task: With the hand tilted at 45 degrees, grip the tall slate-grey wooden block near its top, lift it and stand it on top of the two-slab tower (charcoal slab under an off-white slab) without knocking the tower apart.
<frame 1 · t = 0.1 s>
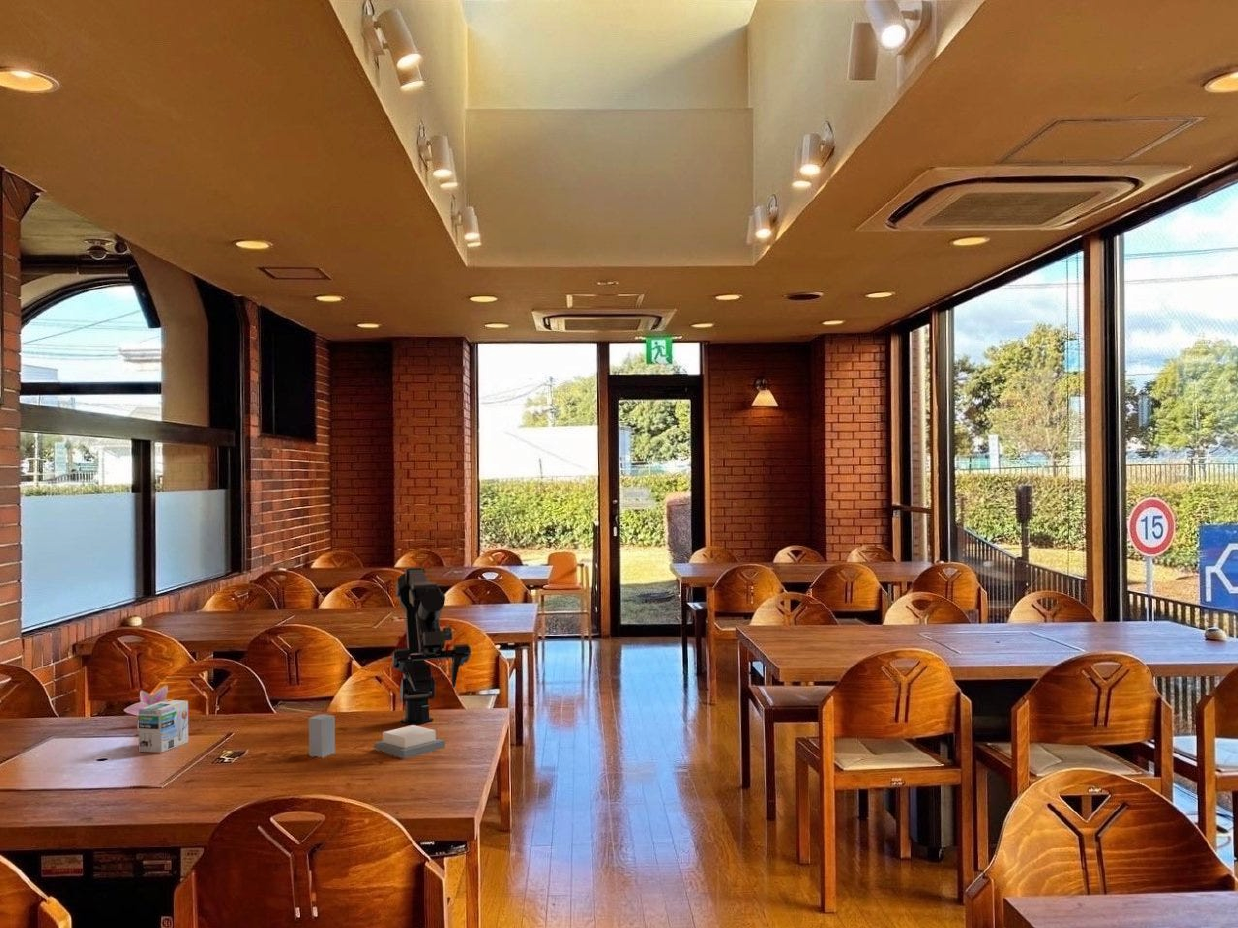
hand: (434, 688, 232), 15 cm above the table, tool tilted 35°, fingers open, 9 cm apart
slate block: (322, 754, 230), on the table
lily: (152, 725, 262), on the table
charcoal base slab: (409, 751, 233), on the table
off-white top slab: (409, 741, 233), point 2 cm above the table
light bulb box: (164, 748, 239), on the table
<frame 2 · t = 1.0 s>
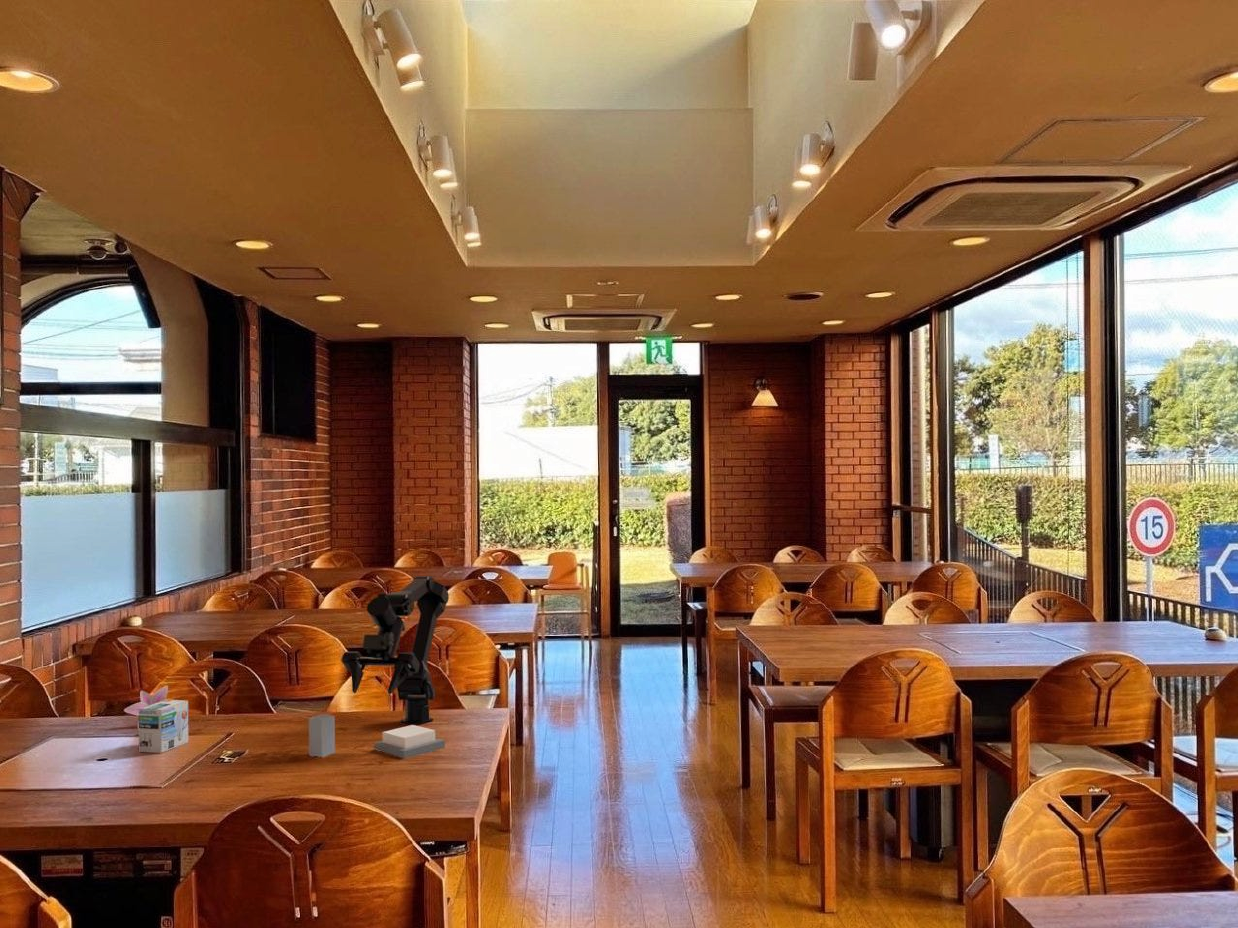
hand: (371, 692, 233), 14 cm above the table, tool tilted 40°, fingers open, 9 cm apart
charcoal base slab: (409, 751, 233), on the table, touching off-white top slab
off-white top slab: (409, 741, 233), point 2 cm above the table, touching charcoal base slab
everything else where it was.
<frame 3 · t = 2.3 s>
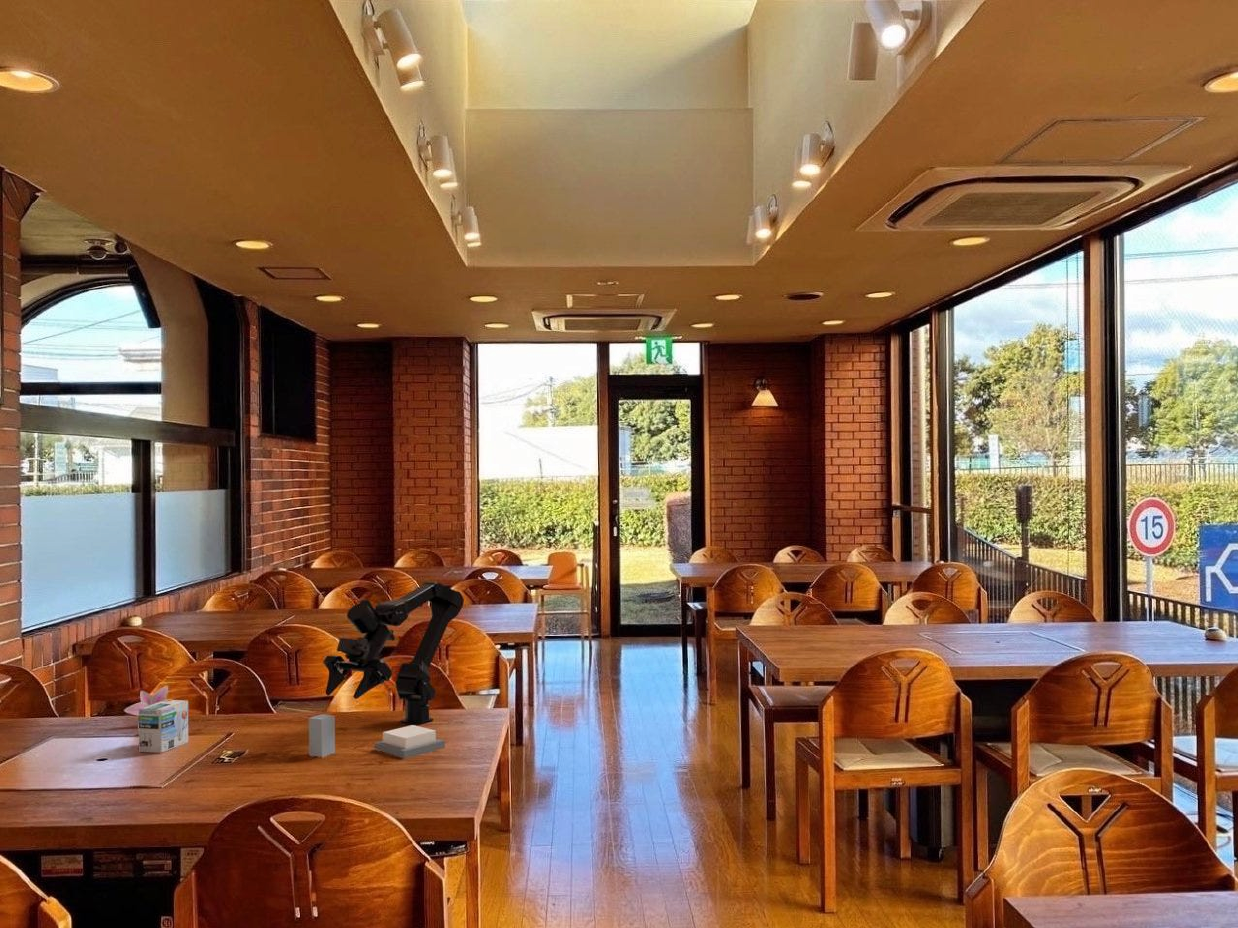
hand: (340, 696, 236), 13 cm above the table, tool tilted 45°, fingers open, 9 cm apart
nothing on the table moved.
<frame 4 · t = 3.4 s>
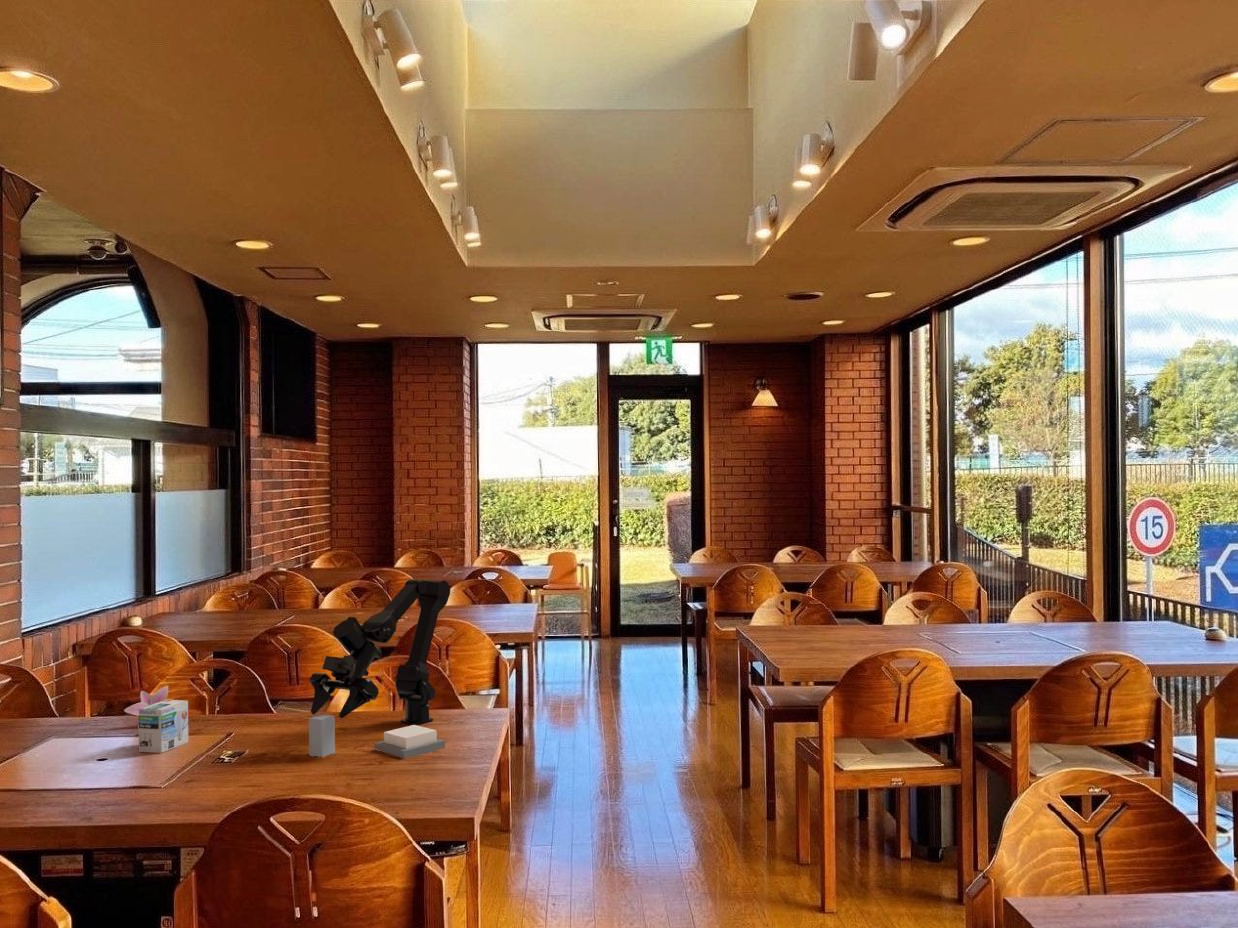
hand: (326, 715, 231), 9 cm above the table, tool tilted 45°, fingers open, 9 cm apart
charcoal base slab: (409, 751, 233), on the table
off-white top slab: (410, 741, 234), point 2 cm above the table
everything else where it was.
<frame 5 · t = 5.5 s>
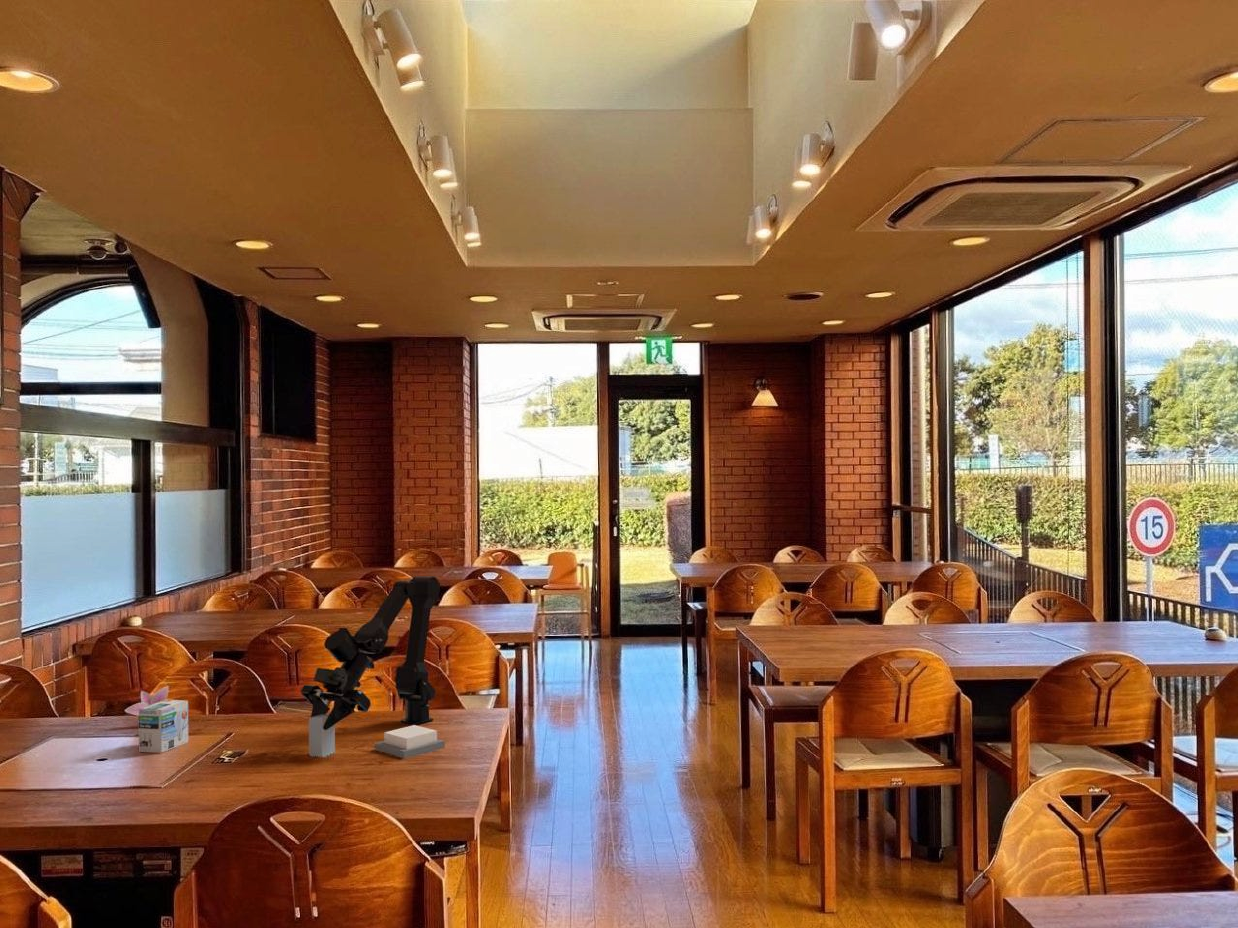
hand: (317, 727, 229), 7 cm above the table, tool tilted 45°, fingers closed on slate block, 4 cm apart
slate block: (322, 754, 230), on the table, touching gripper
charcoal base slab: (409, 752, 233), on the table, touching off-white top slab
off-white top slab: (410, 741, 234), point 2 cm above the table, touching charcoal base slab
everything else where it was.
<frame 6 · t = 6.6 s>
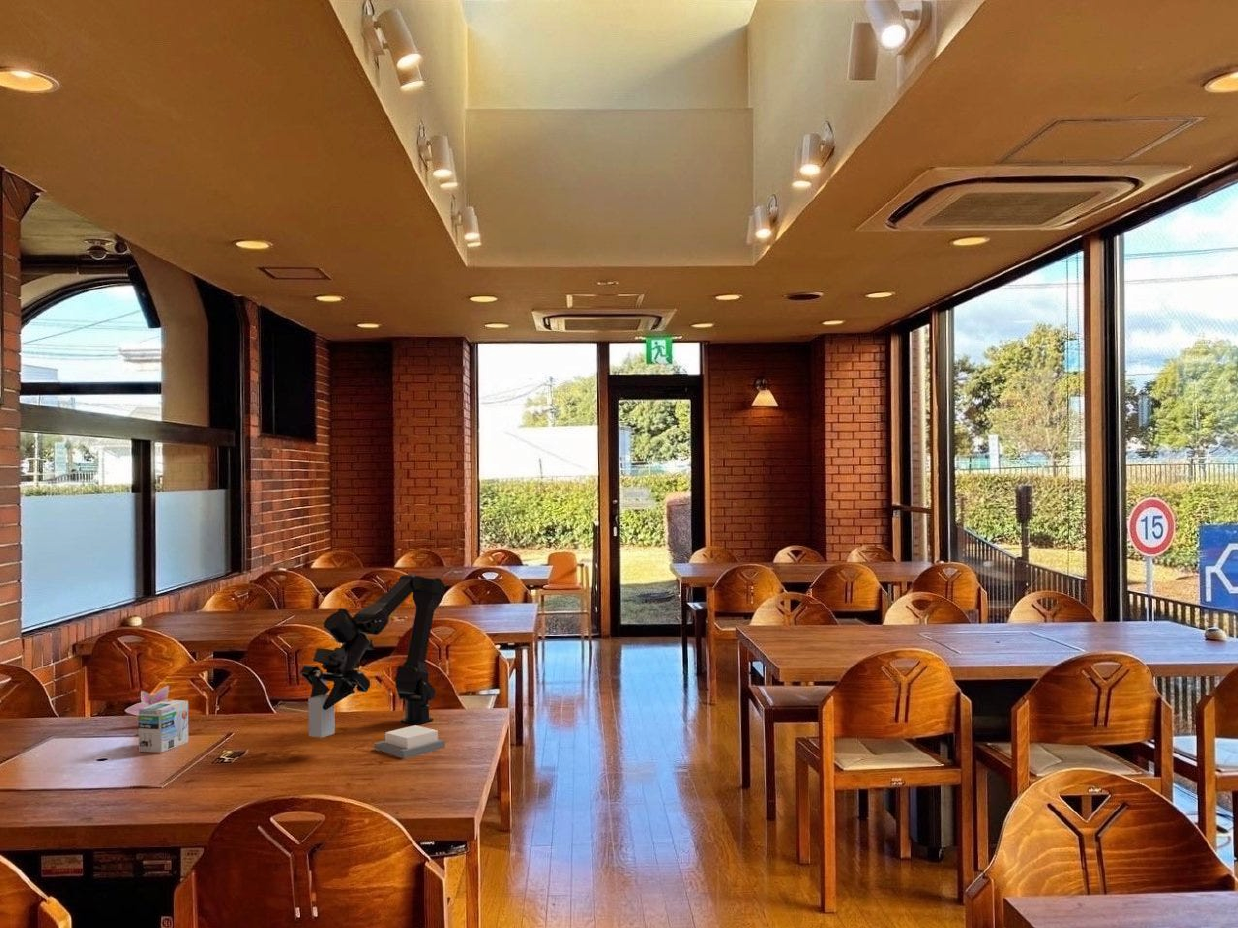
hand: (317, 708, 229), 11 cm above the table, tool tilted 45°, fingers closed on slate block, 4 cm apart
slate block: (321, 734, 230), point 5 cm above the table, touching gripper
everything else where it was.
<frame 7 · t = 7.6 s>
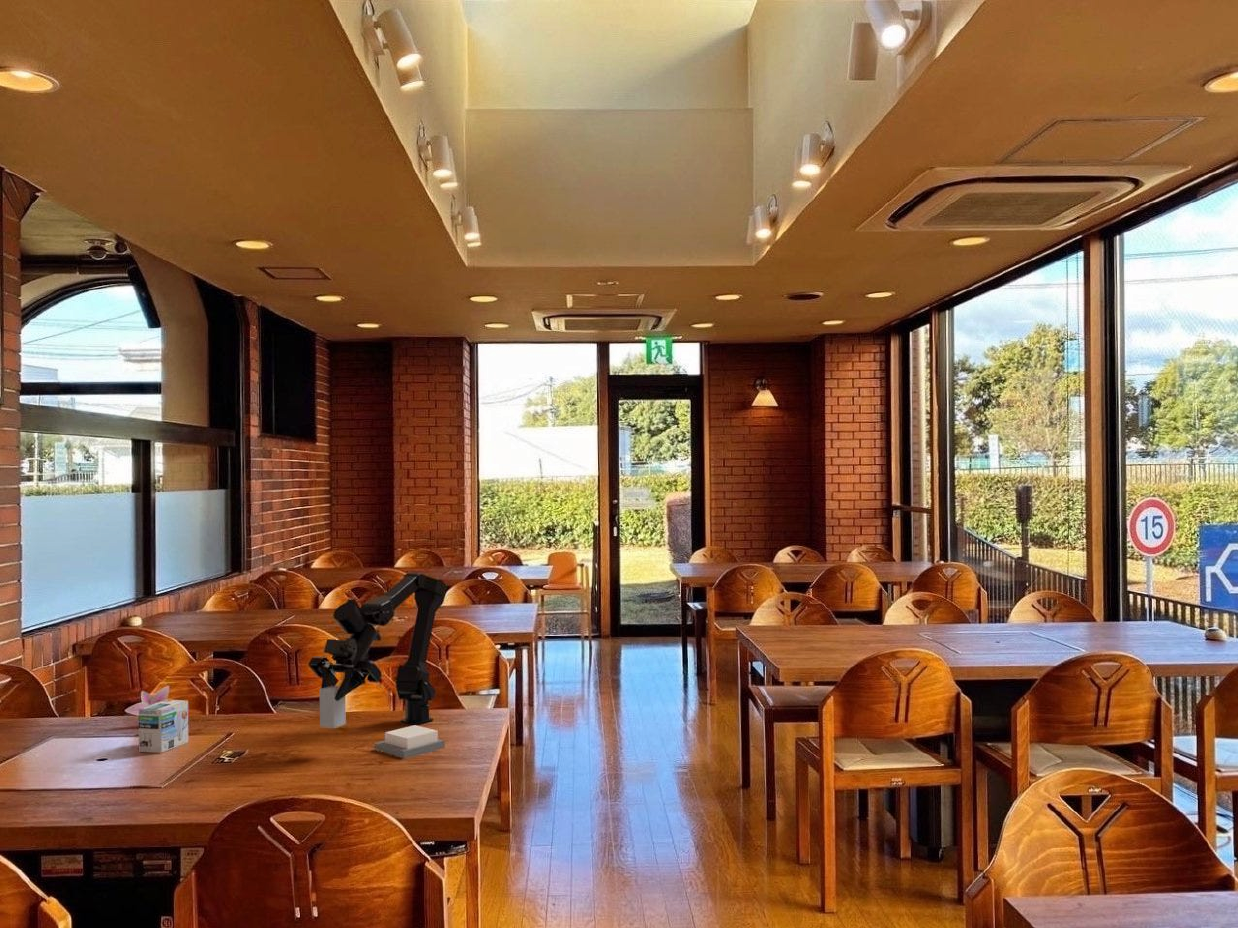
hand: (328, 699, 229), 14 cm above the table, tool tilted 45°, fingers closed on slate block, 4 cm apart
slate block: (332, 725, 230), point 7 cm above the table, touching gripper
everything else where it was.
when the fingers open (13 cm above the table, at t = 10.6 s): slate block drops 2 cm, resting on off-white top slab.
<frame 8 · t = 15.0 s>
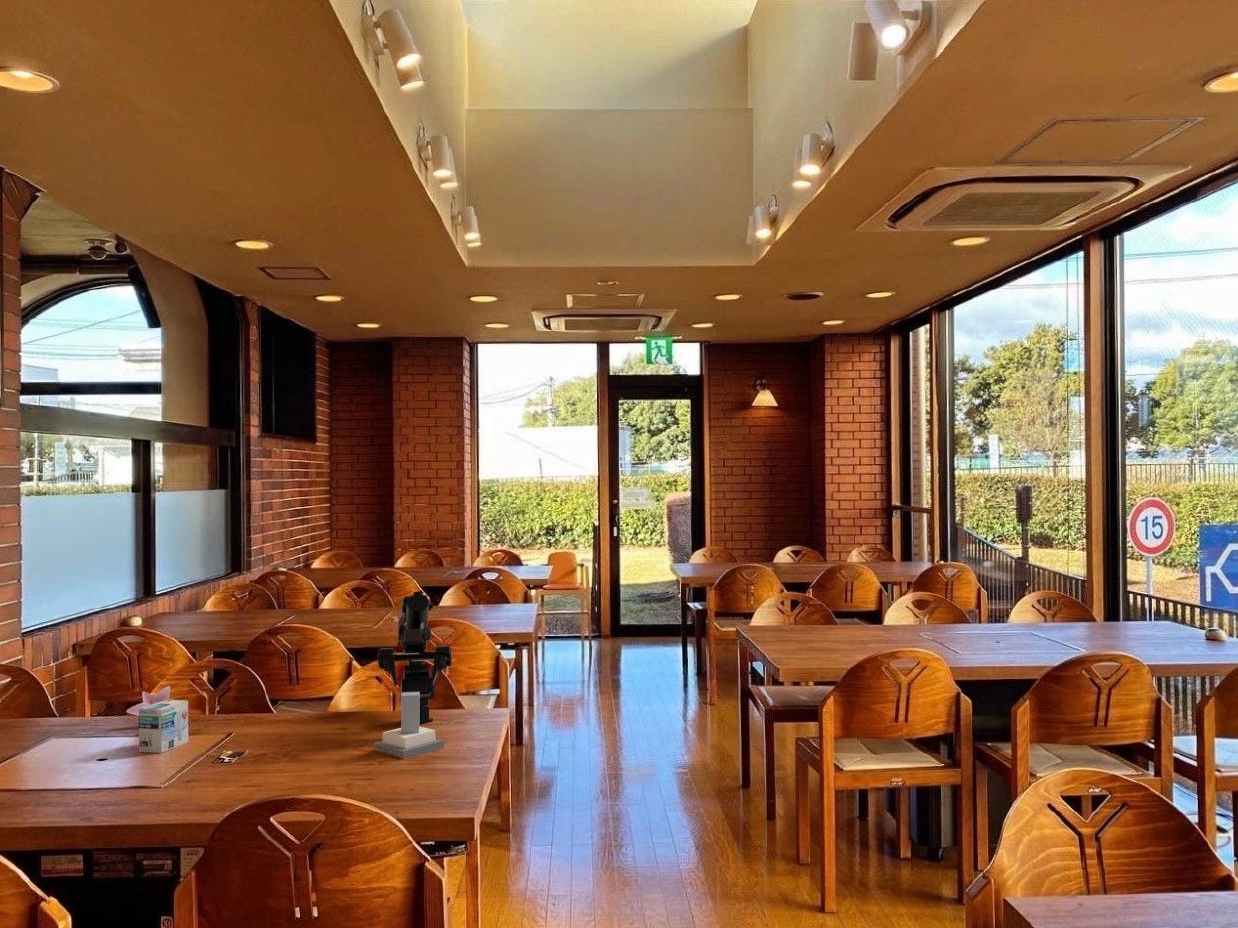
hand: (413, 684, 243), 14 cm above the table, tool tilted 45°, fingers open, 9 cm apart
slate block: (410, 730, 234), point 4 cm above the table, touching off-white top slab
off-white top slab: (409, 741, 234), point 2 cm above the table, touching charcoal base slab, slate block
at the end: slate block 0.3 cm off-centre on the off-white top slab, point 2.6 cm above the off-white top slab's base; slate block tilted 2°; off-white top slab moved 0.8 cm from its start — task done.
